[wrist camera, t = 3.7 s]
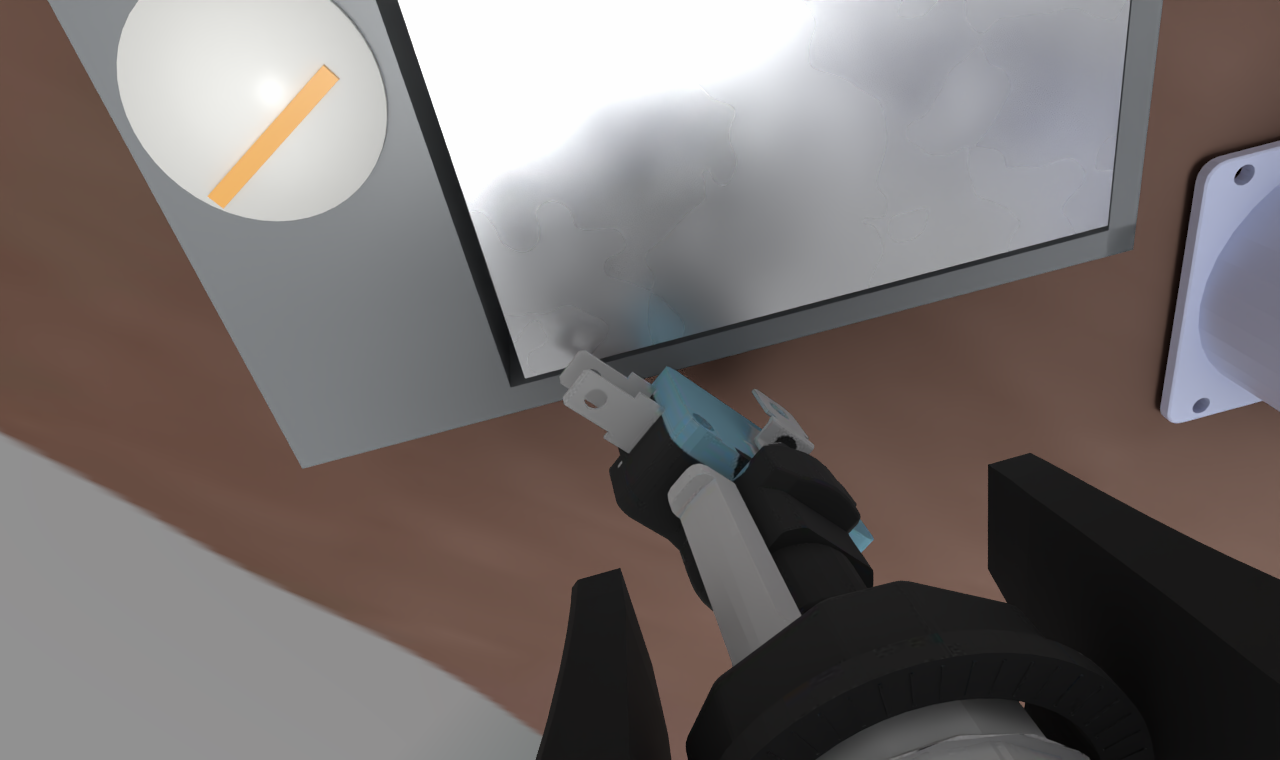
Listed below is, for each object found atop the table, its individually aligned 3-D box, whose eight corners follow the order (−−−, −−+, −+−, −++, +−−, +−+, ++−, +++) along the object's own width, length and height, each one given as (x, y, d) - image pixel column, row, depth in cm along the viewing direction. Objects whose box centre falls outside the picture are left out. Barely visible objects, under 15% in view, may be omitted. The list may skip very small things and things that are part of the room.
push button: (490, 452, 16) (478, 997, 7) (654, 238, 15) (888, 573, 6) (736, 592, 19) (957, 1132, 10) (895, 418, 17) (1320, 849, 8)
